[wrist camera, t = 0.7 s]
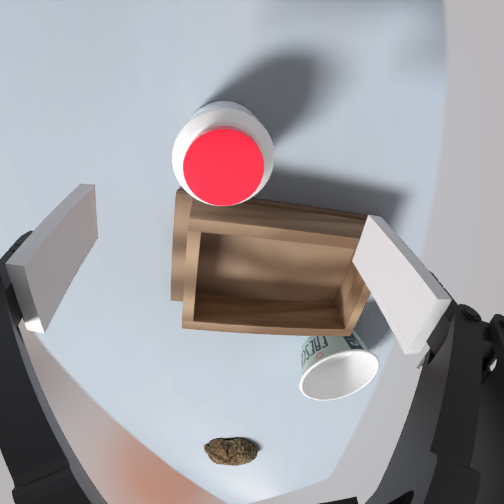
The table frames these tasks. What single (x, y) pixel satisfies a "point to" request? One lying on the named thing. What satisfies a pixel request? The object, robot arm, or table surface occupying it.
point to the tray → (266, 267)
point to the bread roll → (231, 451)
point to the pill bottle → (223, 154)
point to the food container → (335, 366)
